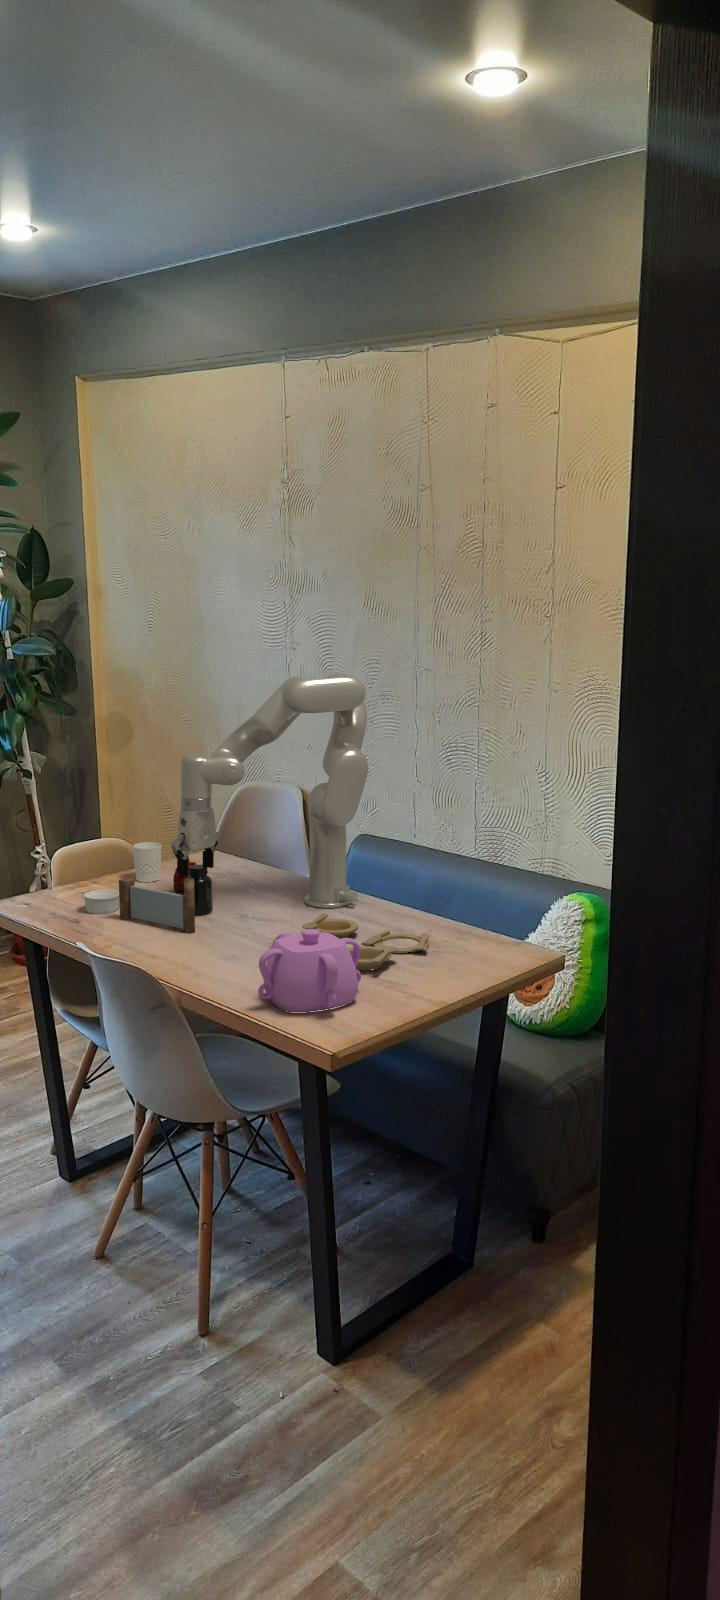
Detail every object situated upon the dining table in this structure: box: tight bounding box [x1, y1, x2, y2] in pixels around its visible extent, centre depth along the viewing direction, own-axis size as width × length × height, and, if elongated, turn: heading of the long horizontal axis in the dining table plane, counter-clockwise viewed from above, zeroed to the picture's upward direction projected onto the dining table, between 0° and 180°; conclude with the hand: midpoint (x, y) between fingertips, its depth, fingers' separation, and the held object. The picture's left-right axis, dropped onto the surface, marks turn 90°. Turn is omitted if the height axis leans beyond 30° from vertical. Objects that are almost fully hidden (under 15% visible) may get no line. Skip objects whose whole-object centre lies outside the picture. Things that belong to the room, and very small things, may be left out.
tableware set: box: [268, 913, 430, 971], centre depth 256 cm, size 35×29×4 cm
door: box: [130, 885, 185, 929], centre depth 273 cm, size 17×3×8 cm, turn 58°
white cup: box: [132, 841, 162, 883], centre depth 315 cm, size 8×8×10 cm
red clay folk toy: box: [172, 855, 197, 895], centre depth 300 cm, size 8×7×15 cm
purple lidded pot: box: [257, 929, 362, 1013], centre depth 224 cm, size 19×21×14 cm
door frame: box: [118, 877, 196, 934], centre depth 272 cm, size 23×3×13 cm, turn 58°
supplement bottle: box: [187, 864, 214, 917], centre depth 283 cm, size 7×7×12 cm
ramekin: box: [83, 889, 119, 915], centre depth 285 cm, size 9×9×4 cm
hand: (195, 870), depth 282 cm, fingers open, 9 cm apart
